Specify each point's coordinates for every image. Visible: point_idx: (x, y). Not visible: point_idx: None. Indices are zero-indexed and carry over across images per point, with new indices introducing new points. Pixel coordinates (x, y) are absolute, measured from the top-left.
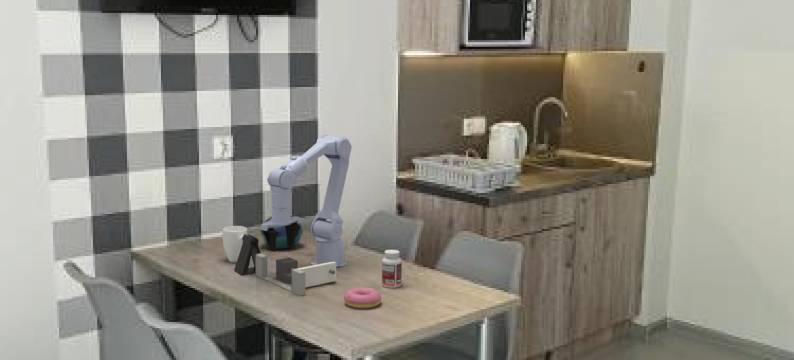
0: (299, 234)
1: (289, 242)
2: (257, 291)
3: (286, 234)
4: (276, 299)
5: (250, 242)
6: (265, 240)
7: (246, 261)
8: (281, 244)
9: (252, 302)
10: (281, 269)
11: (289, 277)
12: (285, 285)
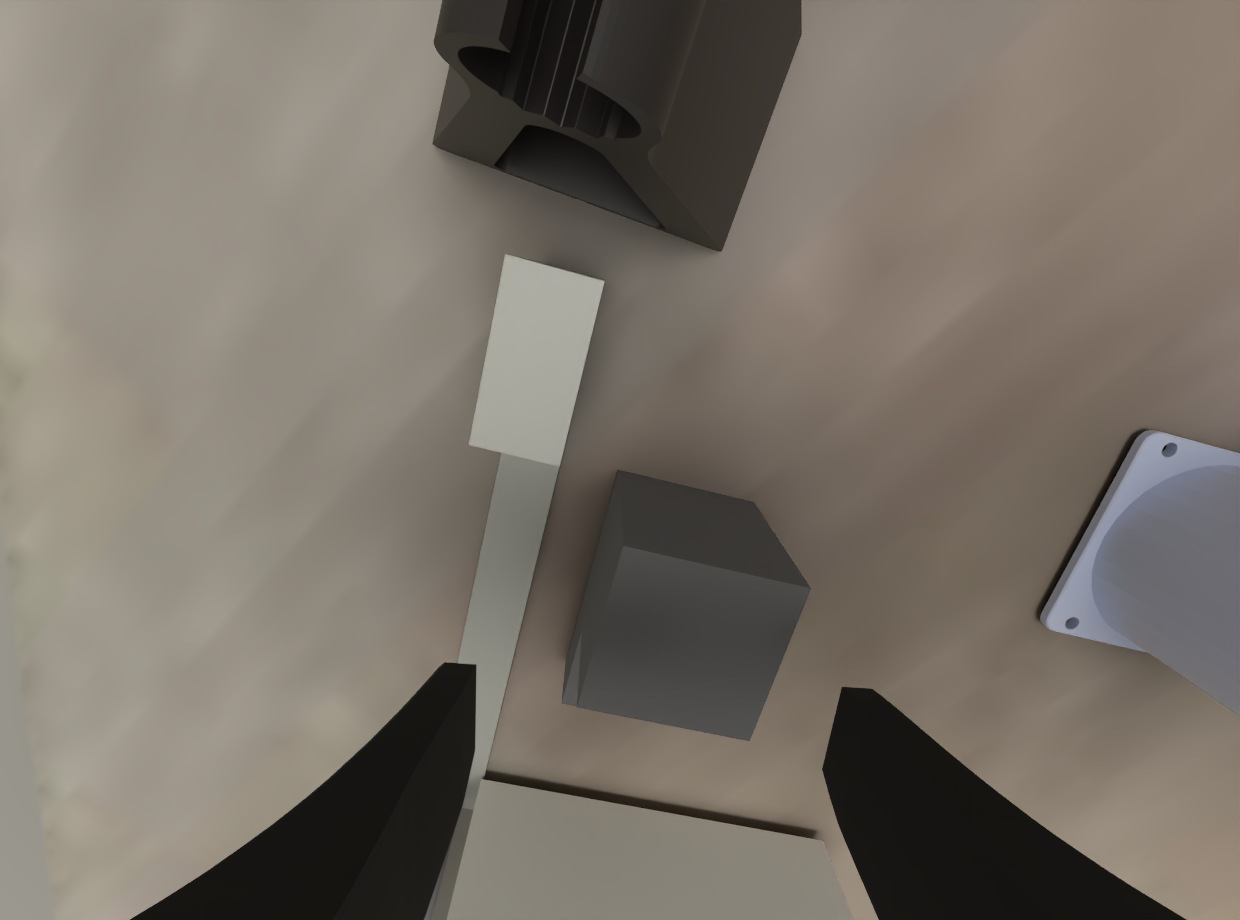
0: None
1: (863, 780)
2: (246, 615)
3: (976, 834)
4: (246, 817)
5: (448, 52)
6: None
7: (453, 129)
8: None
9: (68, 754)
10: (594, 604)
11: (562, 695)
12: (491, 688)
